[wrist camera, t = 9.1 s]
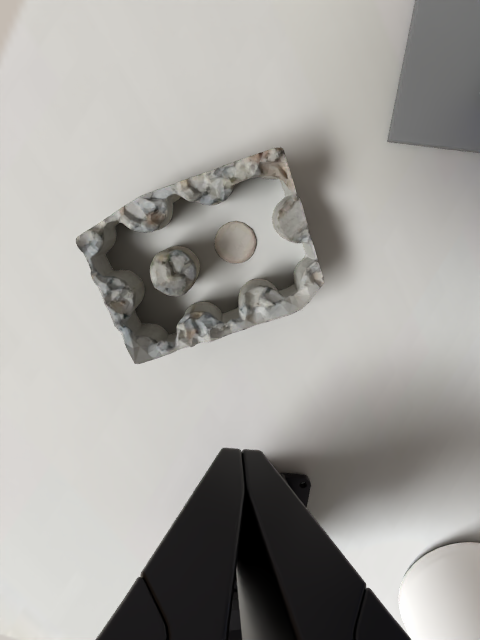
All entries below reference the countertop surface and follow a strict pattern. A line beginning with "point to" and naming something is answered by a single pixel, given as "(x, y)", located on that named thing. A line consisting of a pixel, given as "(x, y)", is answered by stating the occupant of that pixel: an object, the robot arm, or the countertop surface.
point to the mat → (440, 78)
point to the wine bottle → (443, 594)
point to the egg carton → (183, 266)
